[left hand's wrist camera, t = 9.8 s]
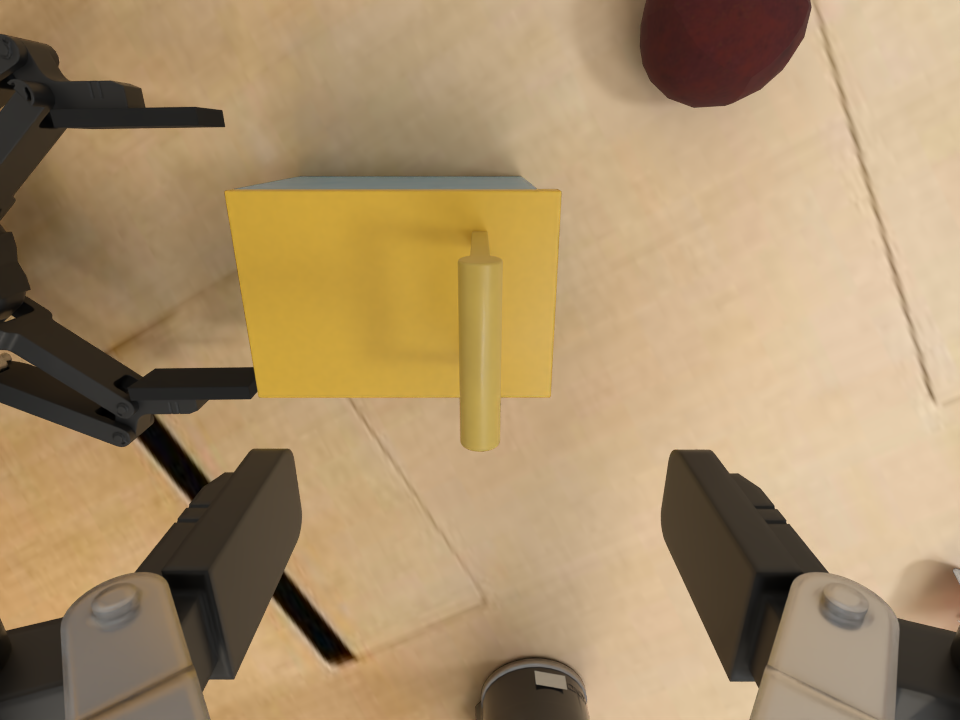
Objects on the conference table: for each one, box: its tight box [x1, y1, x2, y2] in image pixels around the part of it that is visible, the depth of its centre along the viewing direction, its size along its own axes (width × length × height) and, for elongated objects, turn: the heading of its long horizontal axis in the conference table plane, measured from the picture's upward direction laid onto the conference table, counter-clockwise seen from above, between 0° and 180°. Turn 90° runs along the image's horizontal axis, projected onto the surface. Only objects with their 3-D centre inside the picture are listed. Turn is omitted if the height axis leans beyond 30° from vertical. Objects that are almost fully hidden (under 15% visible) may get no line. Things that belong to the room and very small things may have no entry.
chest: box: [236, 176, 537, 189], centre depth 30 cm, size 14×10×10 cm
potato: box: [640, 0, 811, 108], centre depth 27 cm, size 7×8×7 cm
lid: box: [224, 189, 561, 452], centre depth 22 cm, size 14×10×8 cm
